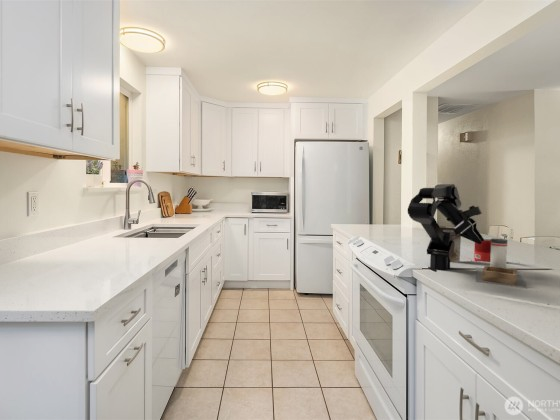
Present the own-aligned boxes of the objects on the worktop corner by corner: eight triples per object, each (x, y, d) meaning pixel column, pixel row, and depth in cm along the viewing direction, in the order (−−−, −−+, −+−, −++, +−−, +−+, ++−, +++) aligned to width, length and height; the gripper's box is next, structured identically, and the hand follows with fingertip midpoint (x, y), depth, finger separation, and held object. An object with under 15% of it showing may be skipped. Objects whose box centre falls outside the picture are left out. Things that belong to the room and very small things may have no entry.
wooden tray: (481, 280, 108) (482, 270, 108) (484, 274, 116) (485, 265, 115) (516, 285, 102) (516, 275, 102) (516, 279, 110) (517, 269, 110)
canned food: (494, 264, 136) (495, 239, 135) (473, 262, 140) (474, 238, 140) (495, 261, 142) (496, 237, 141) (474, 259, 146) (475, 236, 146)
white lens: (497, 275, 115) (498, 240, 114) (486, 271, 120) (487, 238, 119) (509, 274, 115) (510, 240, 115) (498, 271, 120) (499, 238, 120)
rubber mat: (527, 290, 99) (527, 288, 99) (475, 283, 107) (475, 281, 107) (518, 274, 120) (518, 272, 120) (475, 269, 127) (475, 267, 127)
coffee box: (436, 262, 140) (437, 227, 139) (437, 259, 145) (438, 225, 144) (459, 264, 135) (460, 228, 134) (460, 262, 140) (461, 226, 139)
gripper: (464, 199, 115) (499, 230, 109) (470, 198, 130) (501, 226, 124) (440, 219, 121) (472, 250, 114) (449, 216, 135) (477, 244, 129)
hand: (482, 242), depth 120 cm, fingers open, 9 cm apart
